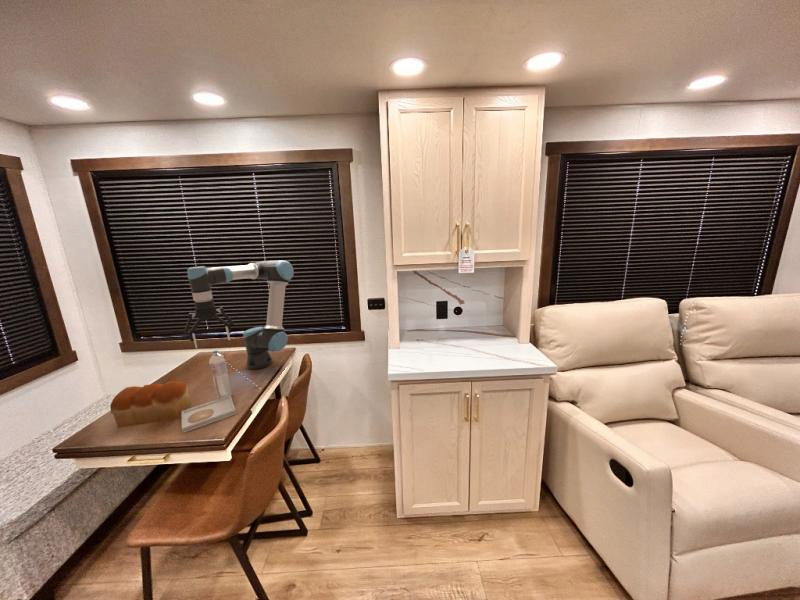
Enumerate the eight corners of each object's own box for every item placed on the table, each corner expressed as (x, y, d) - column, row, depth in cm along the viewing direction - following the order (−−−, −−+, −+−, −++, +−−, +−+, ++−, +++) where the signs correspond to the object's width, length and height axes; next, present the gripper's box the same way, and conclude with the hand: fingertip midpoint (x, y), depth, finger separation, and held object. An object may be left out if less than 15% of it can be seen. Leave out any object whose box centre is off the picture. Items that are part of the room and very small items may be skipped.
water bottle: (234, 397, 151) (224, 350, 145) (219, 402, 147) (208, 355, 141) (232, 391, 156) (222, 346, 151) (216, 397, 152) (206, 351, 146)
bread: (116, 428, 132) (106, 398, 129) (134, 412, 144) (126, 384, 141) (179, 418, 136) (171, 389, 133) (192, 403, 148) (185, 376, 145)
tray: (231, 399, 150) (230, 395, 149) (236, 413, 137) (235, 409, 136) (182, 415, 139) (181, 411, 138) (182, 432, 126) (181, 428, 125)
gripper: (232, 294, 150) (240, 334, 155) (170, 304, 136) (181, 348, 141) (234, 296, 144) (243, 338, 149) (170, 307, 130) (181, 353, 135)
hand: (213, 343), depth 145 cm, fingers open, 13 cm apart
